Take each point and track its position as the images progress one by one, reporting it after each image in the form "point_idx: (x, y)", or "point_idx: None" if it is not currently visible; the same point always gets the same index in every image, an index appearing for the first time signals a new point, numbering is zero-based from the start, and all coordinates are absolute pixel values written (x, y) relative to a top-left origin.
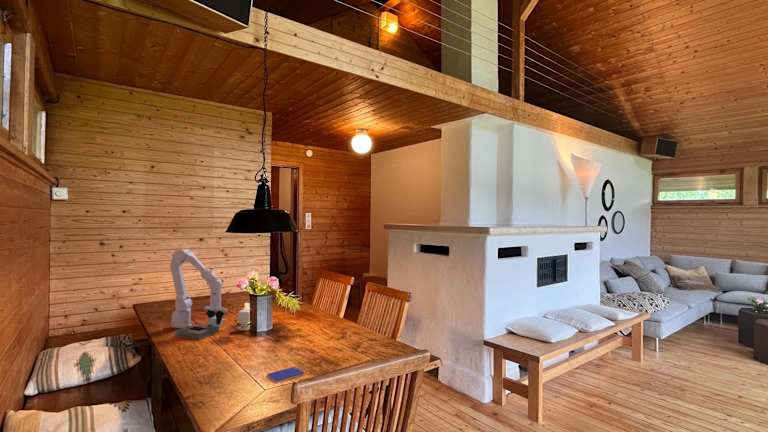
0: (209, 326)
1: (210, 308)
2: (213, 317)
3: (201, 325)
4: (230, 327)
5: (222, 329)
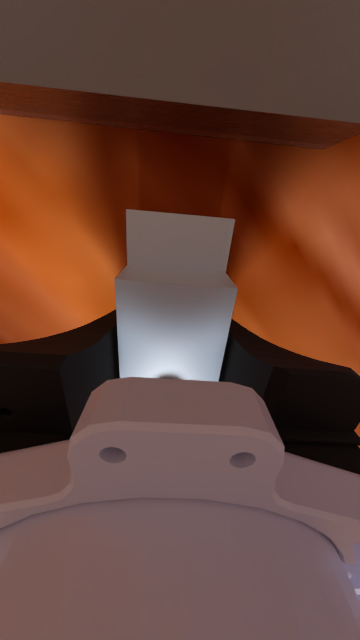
0: (10, 12)
1: (287, 524)
2: (201, 368)
3: (213, 34)
4: (17, 326)
5: (21, 245)
